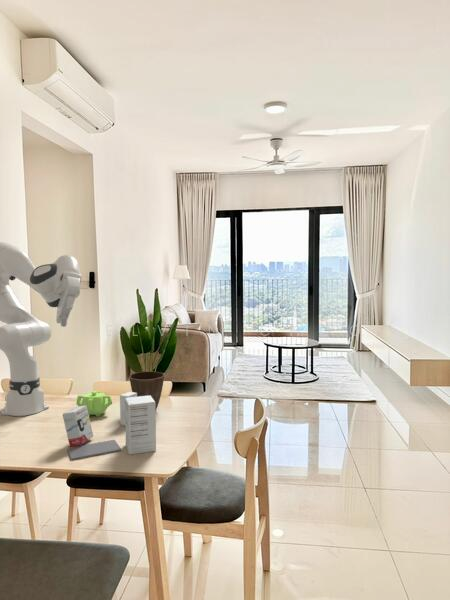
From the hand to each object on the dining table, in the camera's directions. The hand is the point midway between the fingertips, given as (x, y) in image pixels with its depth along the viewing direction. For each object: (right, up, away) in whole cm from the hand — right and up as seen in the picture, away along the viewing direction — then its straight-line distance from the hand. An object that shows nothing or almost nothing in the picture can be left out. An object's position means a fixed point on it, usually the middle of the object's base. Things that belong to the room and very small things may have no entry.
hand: (66, 317), depth 148 cm
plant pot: (+22, -43, +36) cm, 60 cm away
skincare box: (+17, -44, +21) cm, 51 cm away
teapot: (0, -43, +32) cm, 54 cm away
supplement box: (+27, -45, -4) cm, 52 cm away
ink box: (+5, -44, 0) cm, 45 cm away
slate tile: (+11, -45, -6) cm, 47 cm away
